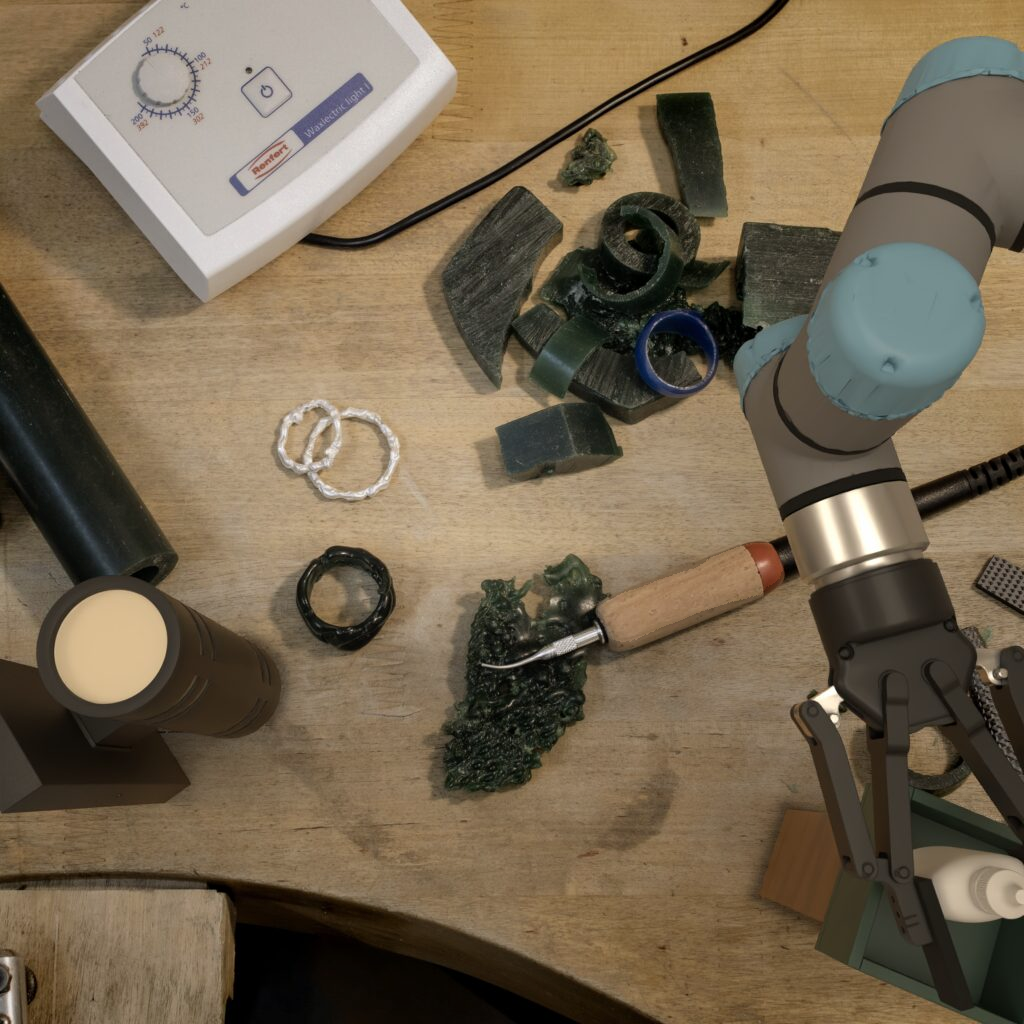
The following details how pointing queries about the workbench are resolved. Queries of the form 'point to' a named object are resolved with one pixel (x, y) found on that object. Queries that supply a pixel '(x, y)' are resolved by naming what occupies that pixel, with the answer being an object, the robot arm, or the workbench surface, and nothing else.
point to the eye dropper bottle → (973, 882)
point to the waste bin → (979, 946)
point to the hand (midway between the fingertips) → (1012, 986)
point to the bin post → (803, 864)
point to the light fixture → (122, 697)
